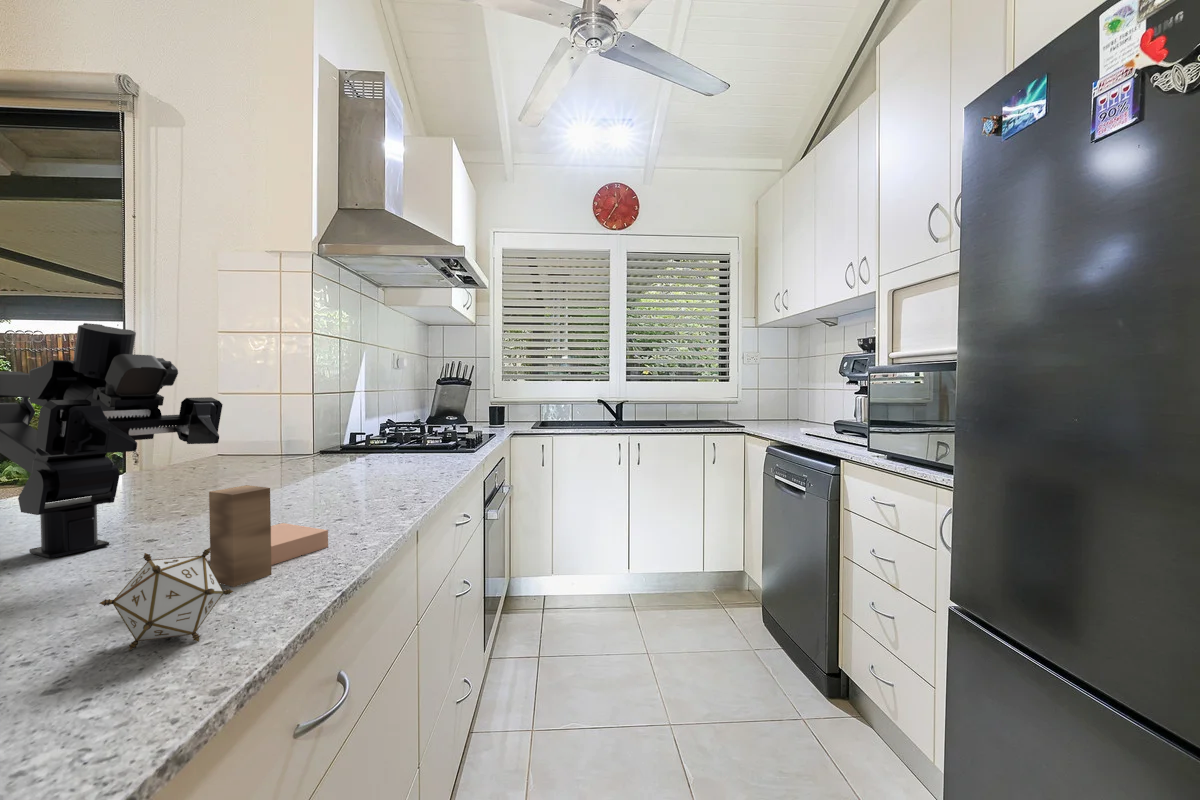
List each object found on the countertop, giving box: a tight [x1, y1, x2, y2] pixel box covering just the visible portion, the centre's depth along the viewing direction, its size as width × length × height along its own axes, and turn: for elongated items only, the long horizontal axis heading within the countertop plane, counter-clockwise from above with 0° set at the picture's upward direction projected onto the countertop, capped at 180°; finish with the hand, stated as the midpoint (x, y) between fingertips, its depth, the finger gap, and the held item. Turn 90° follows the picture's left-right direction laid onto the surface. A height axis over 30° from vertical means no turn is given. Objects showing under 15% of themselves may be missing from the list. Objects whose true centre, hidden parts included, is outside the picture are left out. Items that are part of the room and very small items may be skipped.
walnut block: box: [208, 485, 272, 588], centre depth 64 cm, size 4×4×11 cm
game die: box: [98, 547, 235, 652], centre depth 49 cm, size 9×8×10 cm
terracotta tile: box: [271, 522, 329, 566], centre depth 74 cm, size 10×10×2 cm
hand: (179, 443), depth 65 cm, fingers open, 9 cm apart
